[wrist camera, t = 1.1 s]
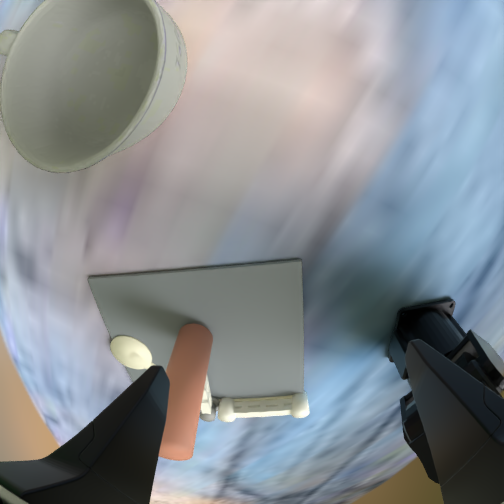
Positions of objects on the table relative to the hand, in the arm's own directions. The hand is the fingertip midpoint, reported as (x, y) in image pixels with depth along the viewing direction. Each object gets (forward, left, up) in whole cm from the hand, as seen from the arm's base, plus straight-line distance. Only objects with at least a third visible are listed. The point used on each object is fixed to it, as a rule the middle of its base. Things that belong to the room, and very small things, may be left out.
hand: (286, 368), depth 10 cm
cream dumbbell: (+2, +18, -13) cm, 22 cm away
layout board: (+7, +10, -13) cm, 18 cm away
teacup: (+10, -14, -13) cm, 22 cm away
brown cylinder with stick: (+7, +13, -12) cm, 19 cm away
